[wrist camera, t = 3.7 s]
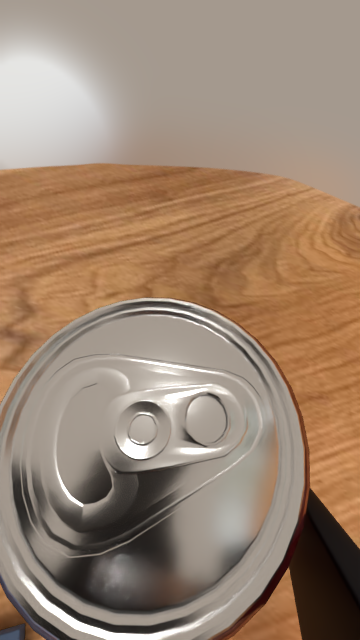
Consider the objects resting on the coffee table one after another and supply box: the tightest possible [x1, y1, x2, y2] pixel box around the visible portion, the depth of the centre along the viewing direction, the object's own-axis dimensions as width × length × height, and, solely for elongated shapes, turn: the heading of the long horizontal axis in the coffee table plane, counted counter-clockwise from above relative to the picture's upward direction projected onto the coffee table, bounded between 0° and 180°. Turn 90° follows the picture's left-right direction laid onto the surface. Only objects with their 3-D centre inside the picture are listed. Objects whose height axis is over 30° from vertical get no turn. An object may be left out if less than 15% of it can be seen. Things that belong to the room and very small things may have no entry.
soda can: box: [0, 297, 310, 640], centre depth 11 cm, size 7×7×12 cm
